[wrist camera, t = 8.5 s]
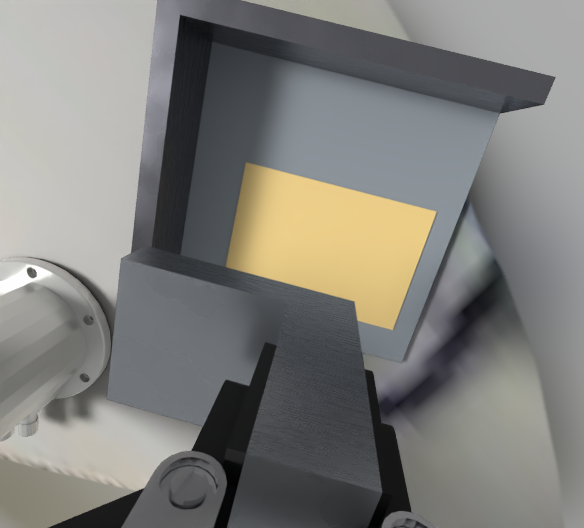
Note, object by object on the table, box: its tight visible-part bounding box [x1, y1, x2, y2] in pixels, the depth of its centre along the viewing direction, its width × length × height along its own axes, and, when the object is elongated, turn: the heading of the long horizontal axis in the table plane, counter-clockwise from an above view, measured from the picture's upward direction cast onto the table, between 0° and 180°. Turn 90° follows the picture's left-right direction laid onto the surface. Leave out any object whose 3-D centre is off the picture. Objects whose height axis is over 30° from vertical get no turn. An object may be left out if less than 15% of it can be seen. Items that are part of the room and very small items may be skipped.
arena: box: [131, 0, 555, 363], centre depth 23 cm, size 19×19×6 cm
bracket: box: [107, 246, 382, 528], centre depth 9 cm, size 7×5×7 cm
